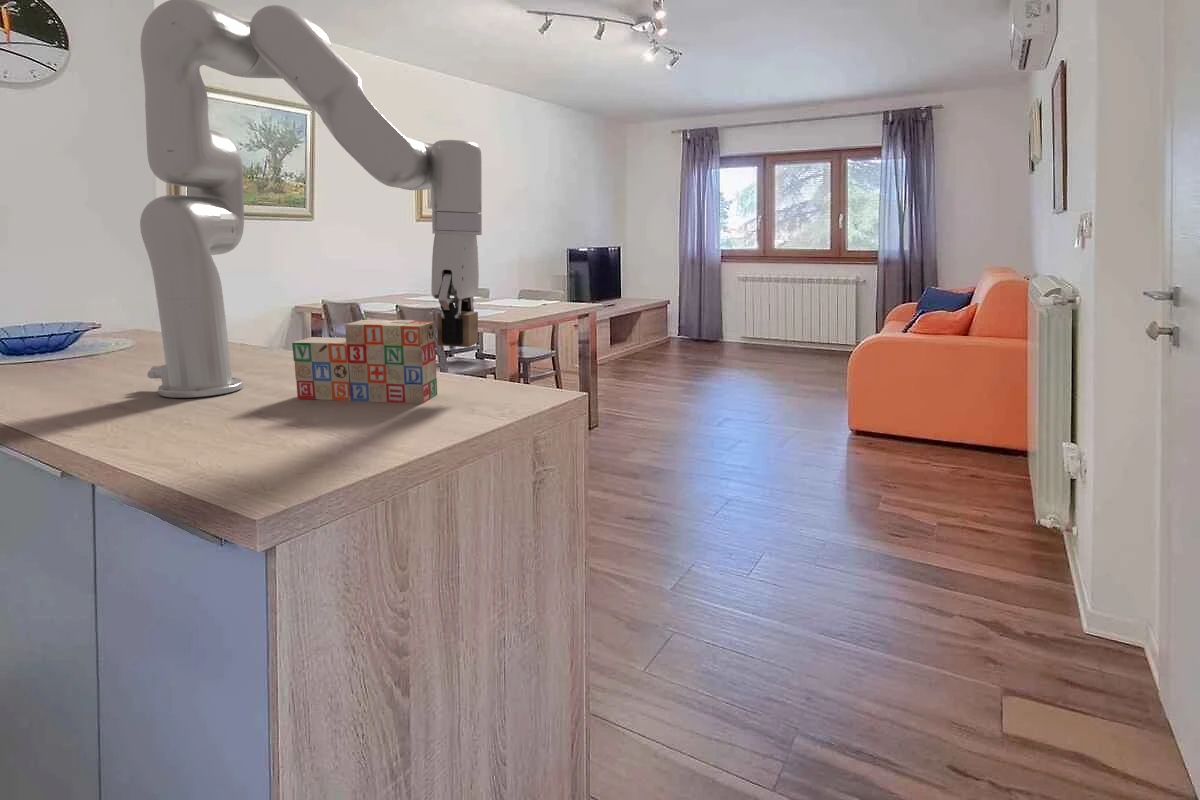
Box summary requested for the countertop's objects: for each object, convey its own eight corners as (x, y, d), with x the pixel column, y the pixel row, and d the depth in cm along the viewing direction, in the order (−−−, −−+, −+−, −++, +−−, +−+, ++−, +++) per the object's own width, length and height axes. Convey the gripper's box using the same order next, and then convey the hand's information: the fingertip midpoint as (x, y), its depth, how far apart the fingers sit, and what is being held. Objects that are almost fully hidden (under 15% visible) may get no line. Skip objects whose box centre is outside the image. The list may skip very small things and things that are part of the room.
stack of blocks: (296, 400, 119) (289, 322, 116) (316, 391, 125) (310, 318, 122) (424, 404, 116) (420, 324, 113) (438, 395, 122) (435, 320, 119)
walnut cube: (437, 345, 118) (437, 313, 117) (448, 340, 123) (447, 310, 121) (468, 347, 117) (468, 315, 116) (477, 342, 122) (477, 311, 121)
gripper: (451, 224, 124) (452, 333, 128) (413, 223, 108) (416, 348, 112) (495, 226, 123) (495, 335, 128) (463, 225, 107) (464, 351, 111)
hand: (458, 340), depth 120 cm, fingers closed on walnut cube, 5 cm apart
